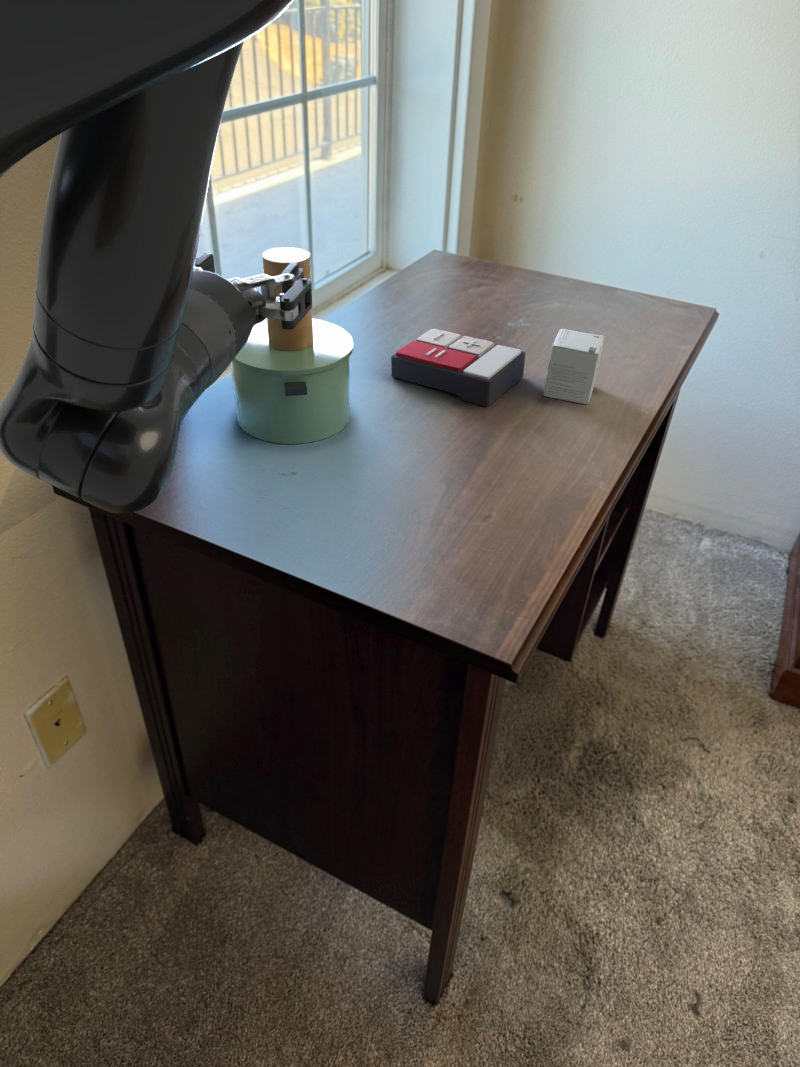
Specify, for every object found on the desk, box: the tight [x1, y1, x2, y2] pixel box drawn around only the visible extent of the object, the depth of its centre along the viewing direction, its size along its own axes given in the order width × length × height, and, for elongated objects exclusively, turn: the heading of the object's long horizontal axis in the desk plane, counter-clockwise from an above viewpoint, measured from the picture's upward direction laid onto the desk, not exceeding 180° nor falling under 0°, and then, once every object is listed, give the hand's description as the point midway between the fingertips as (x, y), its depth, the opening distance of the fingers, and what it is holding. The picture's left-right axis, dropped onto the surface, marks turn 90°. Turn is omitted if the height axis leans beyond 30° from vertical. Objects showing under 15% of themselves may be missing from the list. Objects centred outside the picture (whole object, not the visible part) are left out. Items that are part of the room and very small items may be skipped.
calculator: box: [390, 328, 526, 407], centre depth 101 cm, size 11×4×15 cm
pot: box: [230, 318, 355, 445], centre depth 90 cm, size 15×17×10 cm
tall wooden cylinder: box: [261, 246, 314, 351], centre depth 84 cm, size 5×5×10 cm
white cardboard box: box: [543, 328, 605, 405], centre depth 98 cm, size 6×6×7 cm
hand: (253, 268), depth 72 cm, fingers open, 8 cm apart
